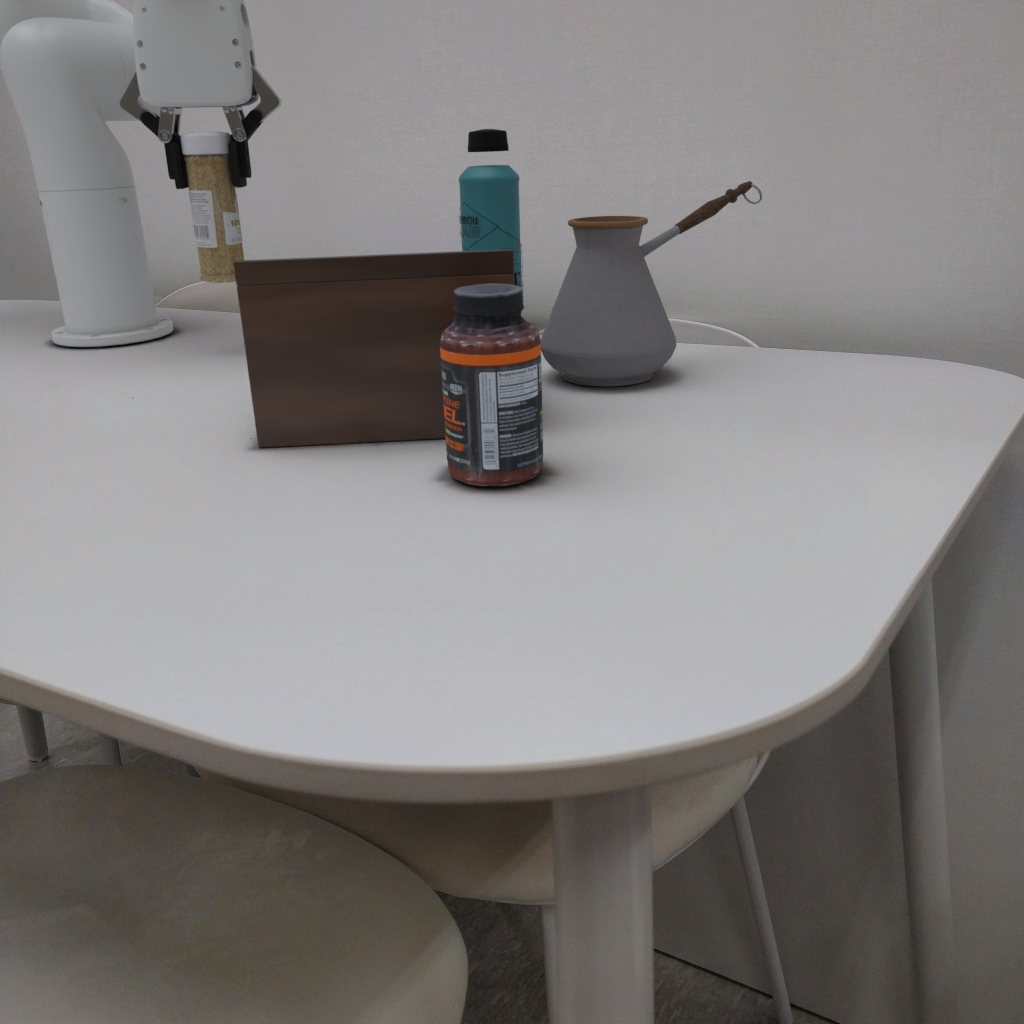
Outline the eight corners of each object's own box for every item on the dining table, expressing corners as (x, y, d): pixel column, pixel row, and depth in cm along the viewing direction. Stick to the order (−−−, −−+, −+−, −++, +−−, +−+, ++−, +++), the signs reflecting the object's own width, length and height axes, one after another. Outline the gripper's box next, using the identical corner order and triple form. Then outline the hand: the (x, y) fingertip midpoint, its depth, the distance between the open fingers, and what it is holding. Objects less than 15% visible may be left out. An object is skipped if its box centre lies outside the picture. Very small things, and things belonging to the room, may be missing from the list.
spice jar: (254, 280, 94) (237, 131, 89) (207, 285, 92) (187, 132, 87) (238, 275, 97) (221, 131, 92) (193, 279, 95) (173, 132, 90)
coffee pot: (588, 400, 75) (587, 197, 70) (515, 373, 84) (509, 192, 79) (792, 362, 85) (805, 182, 79) (706, 342, 94) (712, 179, 89)
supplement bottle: (434, 467, 61) (421, 286, 57) (520, 453, 63) (514, 277, 59) (468, 496, 56) (456, 299, 52) (560, 480, 58) (556, 289, 54)
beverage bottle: (488, 320, 109) (480, 129, 101) (537, 325, 105) (532, 127, 98) (451, 330, 104) (440, 130, 97) (501, 336, 100) (493, 128, 93)
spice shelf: (293, 390, 81) (274, 237, 77) (506, 380, 82) (501, 227, 78) (258, 448, 66) (232, 261, 62) (519, 434, 67) (513, 249, 63)
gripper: (288, -28, 88) (307, 183, 95) (99, -26, 88) (133, 187, 94) (274, -41, 81) (296, 187, 88) (69, -38, 81) (107, 192, 87)
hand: (211, 185), depth 91 cm, fingers closed on spice jar, 4 cm apart
